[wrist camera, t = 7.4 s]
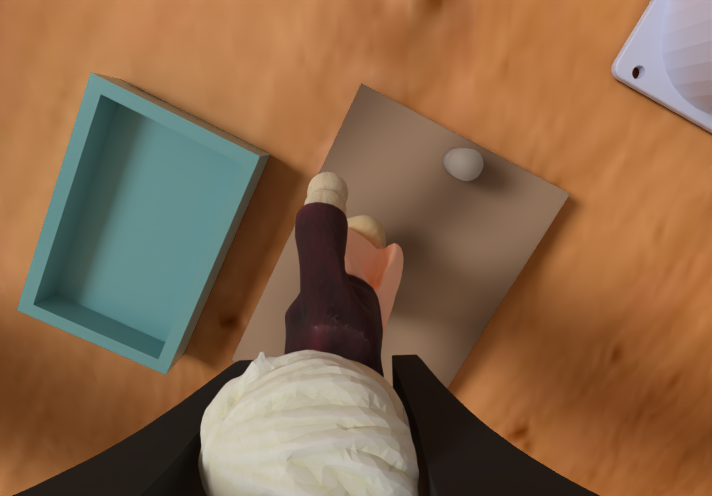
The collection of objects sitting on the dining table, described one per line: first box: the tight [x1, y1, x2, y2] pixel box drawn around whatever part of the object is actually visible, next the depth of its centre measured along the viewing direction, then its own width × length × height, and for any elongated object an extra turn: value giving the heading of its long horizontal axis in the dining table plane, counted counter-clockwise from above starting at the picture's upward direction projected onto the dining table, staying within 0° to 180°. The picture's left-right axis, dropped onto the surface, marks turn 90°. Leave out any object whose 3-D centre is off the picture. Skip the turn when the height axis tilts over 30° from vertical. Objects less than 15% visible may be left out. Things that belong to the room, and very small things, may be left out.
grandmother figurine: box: [198, 172, 419, 496], centre depth 11 cm, size 8×4×13 cm, turn 13°
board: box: [232, 83, 570, 388], centre depth 19 cm, size 10×14×3 cm
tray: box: [17, 72, 270, 375], centre depth 19 cm, size 7×11×2 cm, turn 153°
